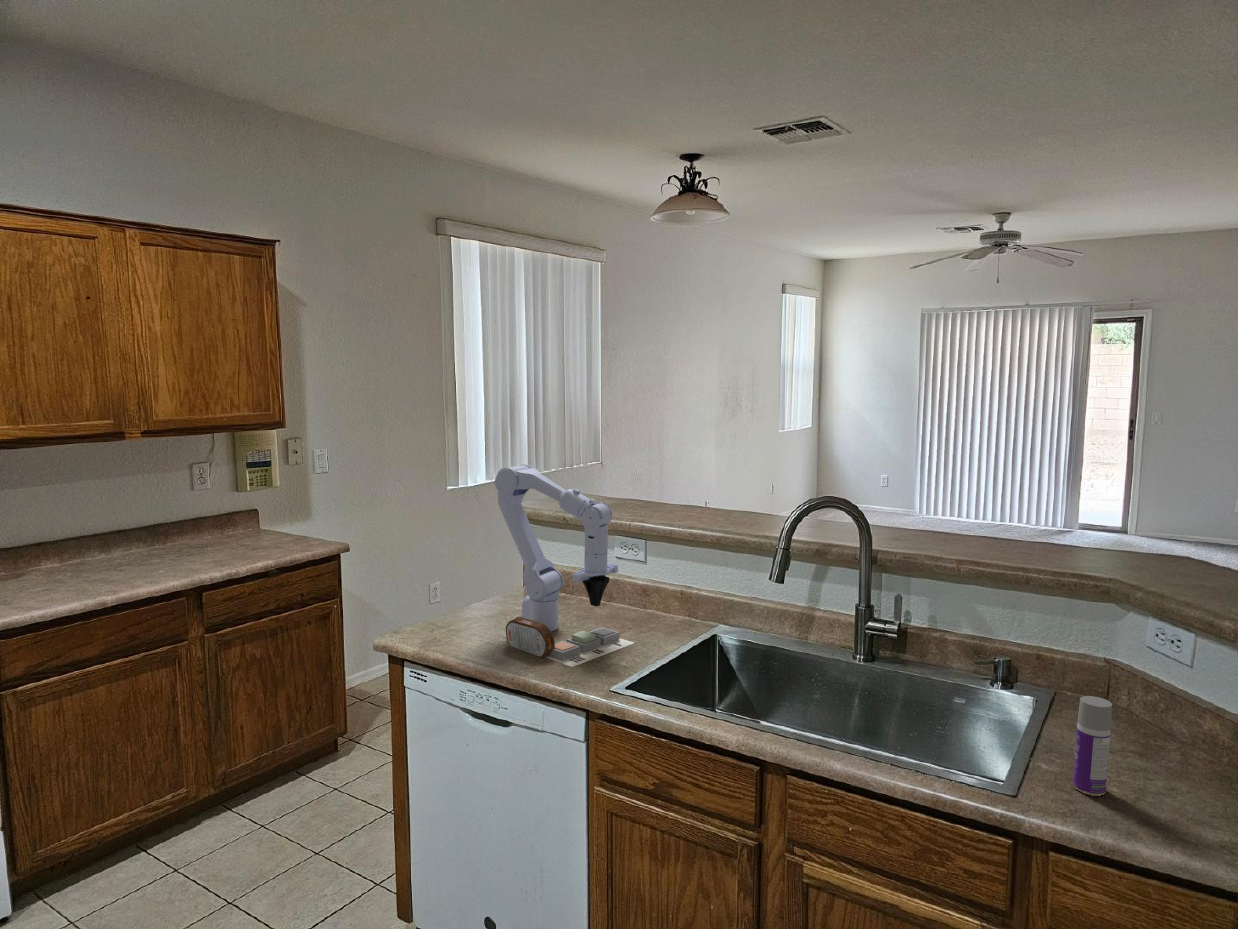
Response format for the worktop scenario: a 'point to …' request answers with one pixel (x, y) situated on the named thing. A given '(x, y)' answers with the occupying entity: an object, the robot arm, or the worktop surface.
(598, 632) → the key one
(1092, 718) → the container
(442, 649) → the worktop surface
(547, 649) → the tin
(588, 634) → the key two
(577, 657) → the keypad
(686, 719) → the worktop surface
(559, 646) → the key three
